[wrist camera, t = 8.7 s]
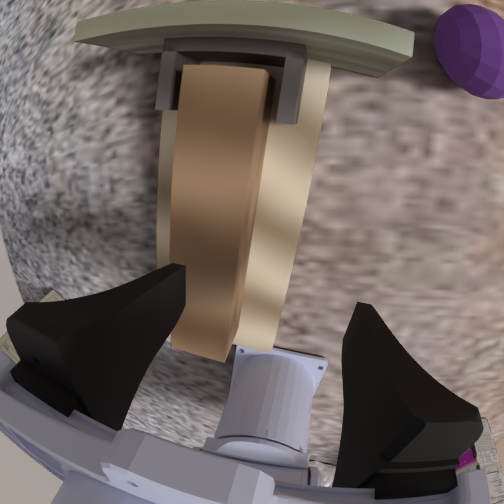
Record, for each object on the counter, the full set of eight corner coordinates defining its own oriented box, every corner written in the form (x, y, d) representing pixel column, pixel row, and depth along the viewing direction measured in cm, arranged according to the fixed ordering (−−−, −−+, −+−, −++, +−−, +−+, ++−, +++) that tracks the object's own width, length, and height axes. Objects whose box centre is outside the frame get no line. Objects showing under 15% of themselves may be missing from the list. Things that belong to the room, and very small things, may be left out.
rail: (238, 327, 23) (224, 362, 20) (191, 314, 24) (171, 347, 20) (276, 80, 15) (264, 69, 12) (210, 73, 16) (183, 64, 12)
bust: (264, 451, 38) (254, 511, 33) (256, 460, 31) (245, 528, 26) (343, 456, 35) (331, 517, 30) (350, 467, 29) (335, 536, 24)
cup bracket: (307, 352, 24) (299, 419, 18) (135, 307, 26) (95, 355, 20) (381, 60, 14) (414, 32, 8) (142, 39, 16) (77, 22, 10)
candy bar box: (441, 457, 30) (448, 548, 15) (417, 457, 30) (420, 554, 16) (489, 415, 24) (512, 519, 10) (465, 415, 25) (485, 529, 10)
